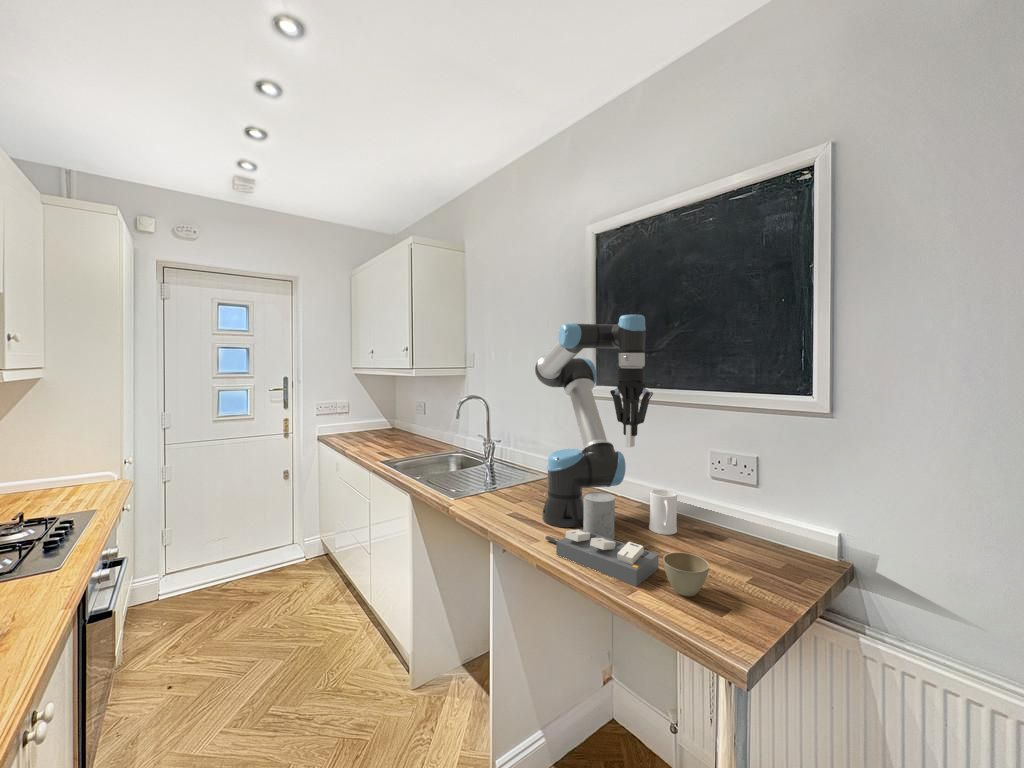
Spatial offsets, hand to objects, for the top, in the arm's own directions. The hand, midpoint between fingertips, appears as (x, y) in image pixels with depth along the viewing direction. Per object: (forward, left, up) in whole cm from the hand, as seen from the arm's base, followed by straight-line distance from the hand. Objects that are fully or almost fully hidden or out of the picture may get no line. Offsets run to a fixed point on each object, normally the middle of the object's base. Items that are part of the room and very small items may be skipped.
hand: (630, 446), depth 131 cm
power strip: (-1, -18, -28) cm, 34 cm away
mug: (+5, +13, -29) cm, 32 cm away
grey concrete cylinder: (-8, -4, -29) cm, 30 cm away
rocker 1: (-5, -20, -23) cm, 30 cm away
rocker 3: (+11, -20, -23) cm, 32 cm away
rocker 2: (+3, -20, -23) cm, 30 cm away
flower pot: (+24, -18, -29) cm, 41 cm away
